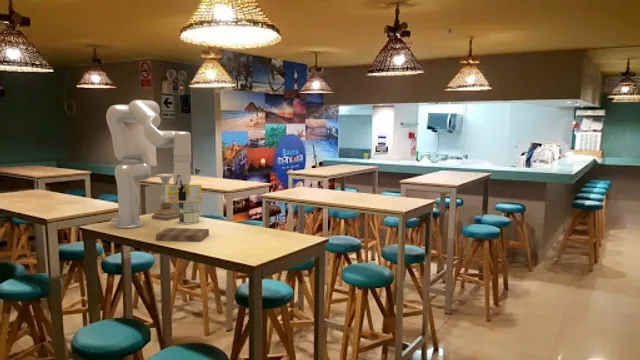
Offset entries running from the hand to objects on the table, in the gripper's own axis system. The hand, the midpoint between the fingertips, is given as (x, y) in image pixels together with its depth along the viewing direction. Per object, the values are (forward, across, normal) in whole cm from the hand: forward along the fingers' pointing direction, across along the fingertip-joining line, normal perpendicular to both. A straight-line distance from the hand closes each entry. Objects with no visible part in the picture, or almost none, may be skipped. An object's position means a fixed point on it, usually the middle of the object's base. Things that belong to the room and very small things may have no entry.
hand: (183, 199), depth 207 cm
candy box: (+1, 0, 0) cm, 1 cm away
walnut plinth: (+17, +1, 0) cm, 17 cm away
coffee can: (+17, -32, -8) cm, 37 cm away
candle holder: (+17, -41, -24) cm, 51 cm away
